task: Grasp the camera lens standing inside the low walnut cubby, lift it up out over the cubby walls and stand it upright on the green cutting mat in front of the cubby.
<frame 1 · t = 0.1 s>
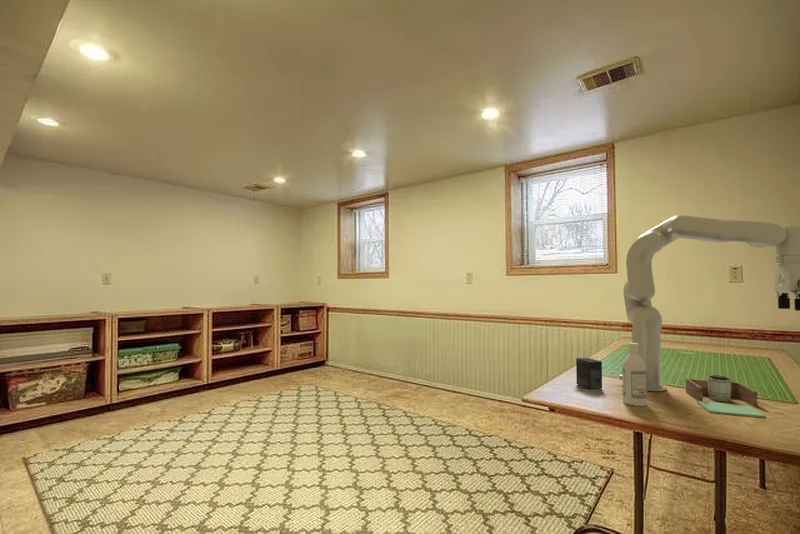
hand: (792, 309, 140), 31 cm above the table, tool pointing down, fingers open, 9 cm apart
cutting mat: (729, 409, 128), on the table
camera lens: (719, 399, 139), on the table
cubby: (719, 399, 139), on the table
box: (589, 387, 155), on the table
bath foam: (634, 404, 134), on the table
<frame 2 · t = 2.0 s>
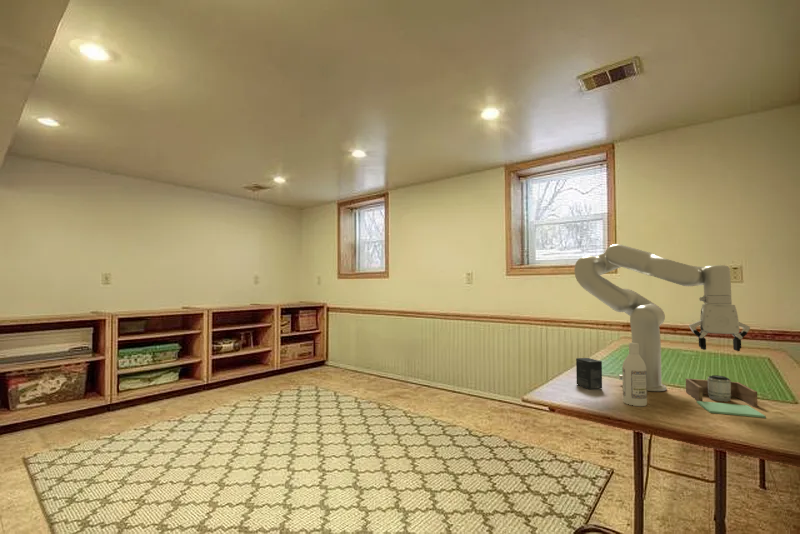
hand: (719, 349, 139), 17 cm above the table, tool pointing down, fingers open, 9 cm apart
nothing on the table moved.
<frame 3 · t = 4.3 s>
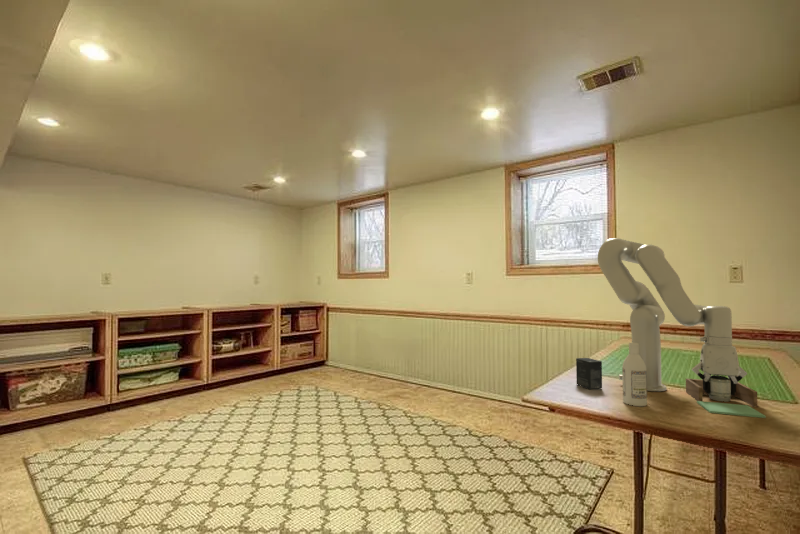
hand: (719, 392, 139), 2 cm above the table, tool pointing down, fingers closed on camera lens, 6 cm apart
camera lens: (719, 399, 139), on the table, touching gripper
everything else where it was.
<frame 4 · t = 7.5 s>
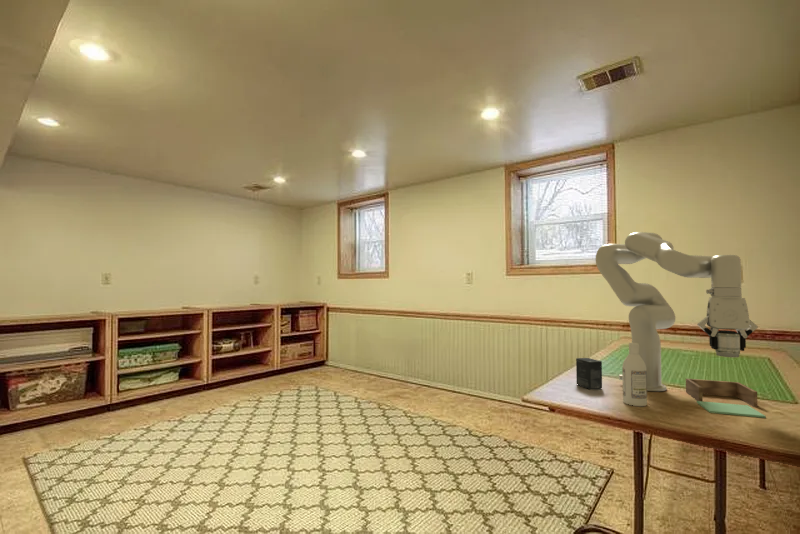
hand: (727, 349, 128), 19 cm above the table, tool pointing down, fingers closed on camera lens, 6 cm apart
camera lens: (727, 356, 128), point 17 cm above the table, touching gripper
everything else where it was.
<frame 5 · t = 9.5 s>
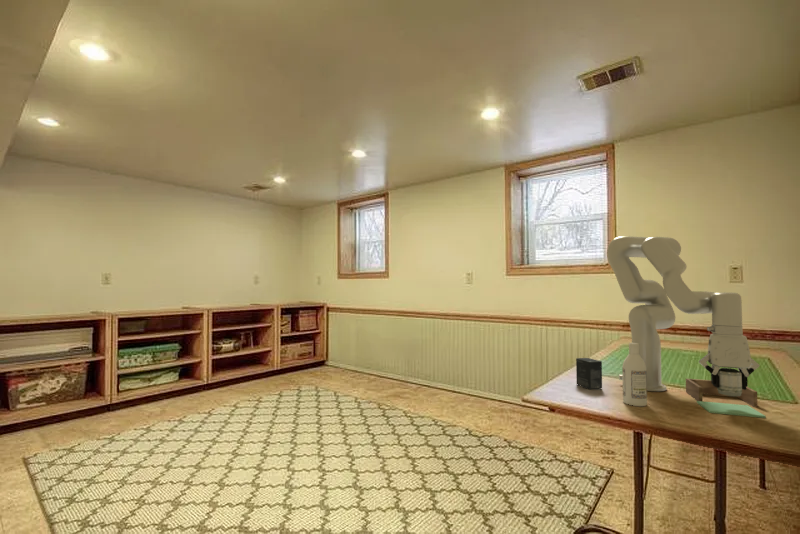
hand: (729, 387, 128), 7 cm above the table, tool pointing down, fingers closed on camera lens, 6 cm apart
camera lens: (729, 394, 127), point 5 cm above the table, touching gripper
everything else where it was.
when the fingers open (4 cm above the table, at t = 11.1 s): camera lens drops 1 cm, resting on cutting mat.
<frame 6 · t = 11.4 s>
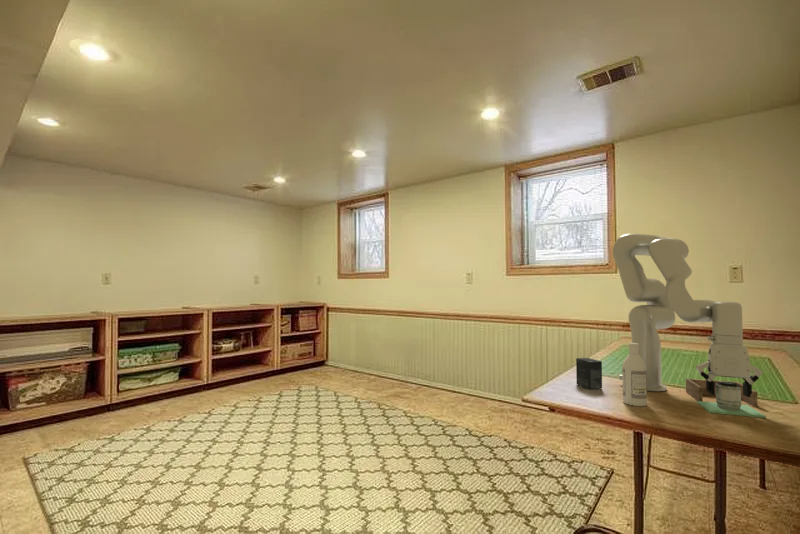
hand: (728, 394, 128), 5 cm above the table, tool pointing down, fingers open, 9 cm apart
camera lens: (728, 408, 128), resting on cutting mat
everything else where it was.
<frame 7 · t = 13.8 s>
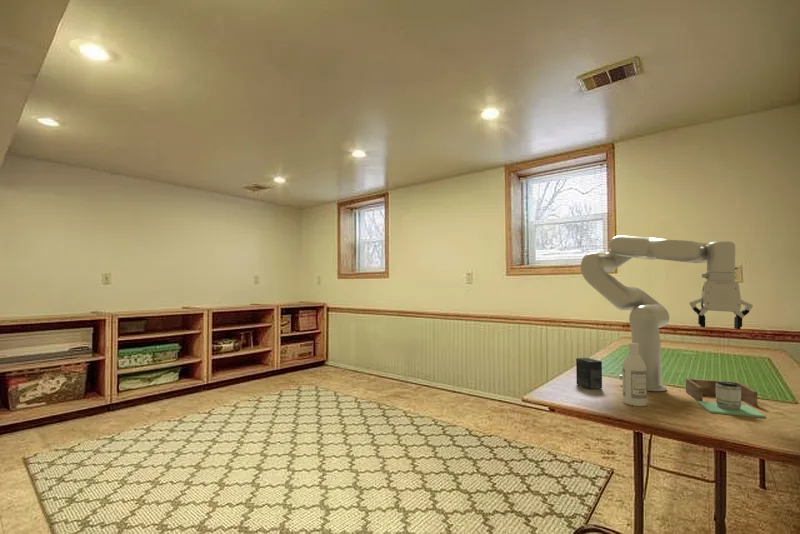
hand: (719, 327, 136), 25 cm above the table, tool pointing down, fingers open, 9 cm apart
nothing on the table moved.
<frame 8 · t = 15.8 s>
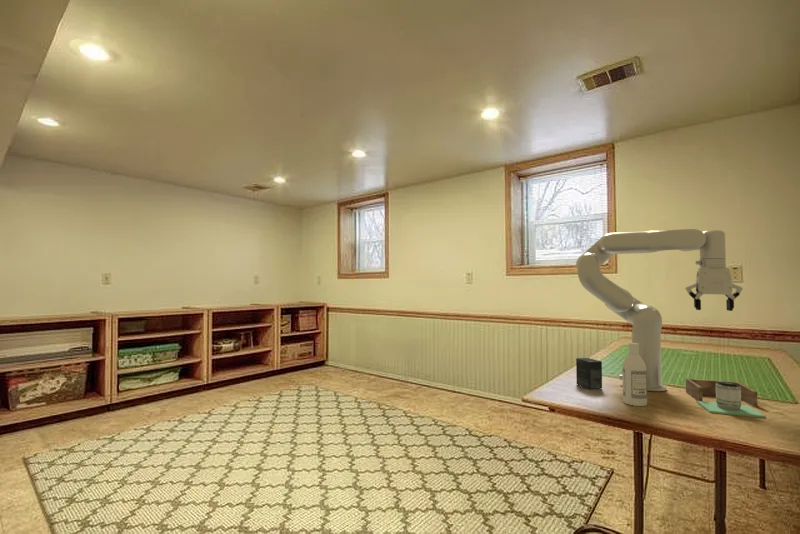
hand: (713, 310, 148), 30 cm above the table, tool pointing down, fingers open, 9 cm apart
nothing on the table moved.
at the end: camera lens inside the target area on the cutting mat (0.1 cm from its centre), point 0.4 cm above the cutting mat's base; camera lens tilted 0°; the gripper is holding nothing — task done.
